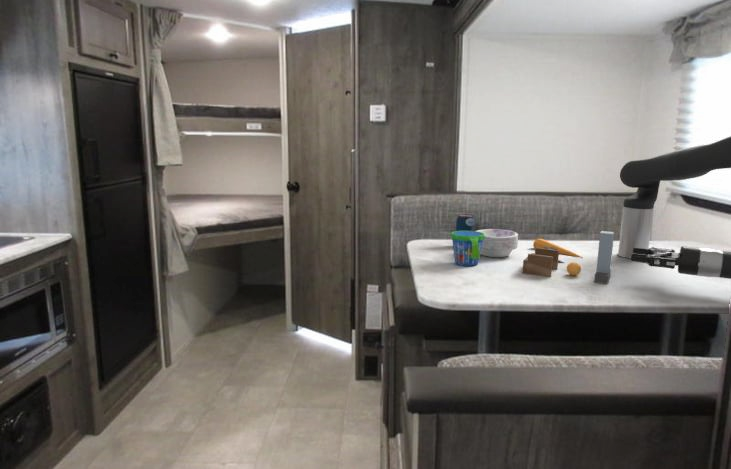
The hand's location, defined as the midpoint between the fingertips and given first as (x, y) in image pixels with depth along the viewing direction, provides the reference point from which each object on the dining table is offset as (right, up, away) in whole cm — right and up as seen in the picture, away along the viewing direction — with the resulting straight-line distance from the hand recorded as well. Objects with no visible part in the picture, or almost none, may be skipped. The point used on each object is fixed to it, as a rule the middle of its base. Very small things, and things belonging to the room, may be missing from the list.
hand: (632, 254), depth 144 cm
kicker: (-6, -8, +5) cm, 11 cm away
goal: (-21, -6, +13) cm, 25 cm away
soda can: (-38, +1, +46) cm, 60 cm away
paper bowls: (-30, -2, +35) cm, 46 cm away
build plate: (-13, -4, +28) cm, 31 cm away
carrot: (-6, -2, +38) cm, 39 cm away
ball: (-13, -7, +9) cm, 17 cm away
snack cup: (-43, -4, +21) cm, 48 cm away
